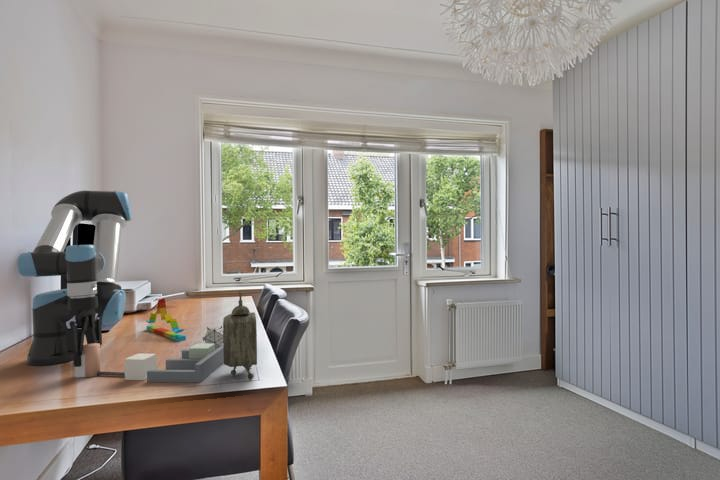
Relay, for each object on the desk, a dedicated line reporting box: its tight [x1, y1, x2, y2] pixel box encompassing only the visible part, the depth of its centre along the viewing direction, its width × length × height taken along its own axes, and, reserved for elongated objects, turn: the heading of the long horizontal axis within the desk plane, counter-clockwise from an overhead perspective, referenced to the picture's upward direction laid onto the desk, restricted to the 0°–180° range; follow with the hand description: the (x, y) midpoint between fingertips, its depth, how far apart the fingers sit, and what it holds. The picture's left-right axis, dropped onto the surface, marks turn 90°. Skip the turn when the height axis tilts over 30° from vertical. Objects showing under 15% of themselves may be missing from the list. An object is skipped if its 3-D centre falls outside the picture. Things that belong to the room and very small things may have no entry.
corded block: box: [82, 343, 158, 381], centre depth 126 cm, size 21×6×9 cm, turn 83°
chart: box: [146, 298, 187, 342], centre depth 177 cm, size 30×3×15 cm, turn 48°
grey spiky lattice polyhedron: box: [202, 325, 223, 349], centre depth 155 cm, size 9×8×10 cm
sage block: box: [188, 342, 216, 359], centre depth 137 cm, size 6×6×6 cm
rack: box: [146, 345, 224, 383], centre depth 132 cm, size 16×22×5 cm
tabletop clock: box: [222, 290, 258, 380], centre depth 126 cm, size 14×9×25 cm, turn 17°
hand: (86, 373), depth 127 cm, fingers closed on corded block, 4 cm apart
